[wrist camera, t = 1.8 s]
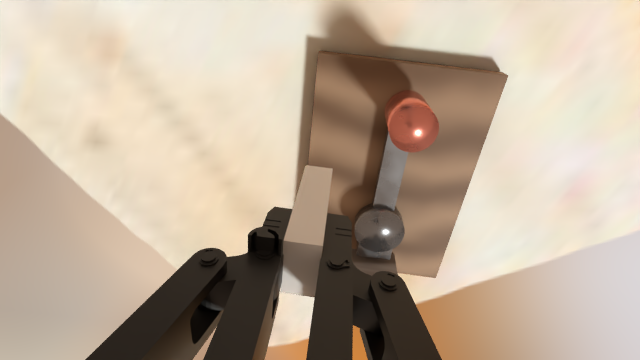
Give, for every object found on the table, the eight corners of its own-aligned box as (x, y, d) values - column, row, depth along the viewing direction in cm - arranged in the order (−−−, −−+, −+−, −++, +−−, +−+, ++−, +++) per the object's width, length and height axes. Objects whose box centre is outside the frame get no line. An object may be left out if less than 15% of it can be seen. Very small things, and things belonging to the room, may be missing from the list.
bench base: (319, 50, 34) (308, 69, 26) (502, 72, 34) (550, 98, 25) (300, 251, 47) (289, 307, 38) (433, 269, 46) (450, 330, 38)
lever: (379, 82, 33) (384, 102, 27) (437, 89, 33) (455, 110, 27) (350, 243, 43) (349, 283, 37) (394, 249, 43) (401, 290, 37)
